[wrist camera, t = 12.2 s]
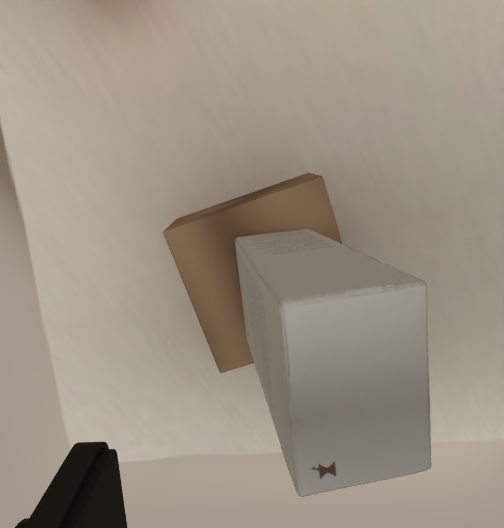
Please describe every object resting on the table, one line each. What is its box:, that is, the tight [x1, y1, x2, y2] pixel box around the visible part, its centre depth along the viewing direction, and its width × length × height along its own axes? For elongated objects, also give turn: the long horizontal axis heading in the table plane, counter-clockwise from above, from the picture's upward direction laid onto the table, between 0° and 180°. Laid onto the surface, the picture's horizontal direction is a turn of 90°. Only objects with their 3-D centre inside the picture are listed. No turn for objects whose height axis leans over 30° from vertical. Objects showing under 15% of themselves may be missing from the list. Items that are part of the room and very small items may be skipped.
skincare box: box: [235, 229, 431, 497], centre depth 17 cm, size 6×4×12 cm
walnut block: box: [163, 173, 342, 373], centre depth 26 cm, size 9×9×5 cm
